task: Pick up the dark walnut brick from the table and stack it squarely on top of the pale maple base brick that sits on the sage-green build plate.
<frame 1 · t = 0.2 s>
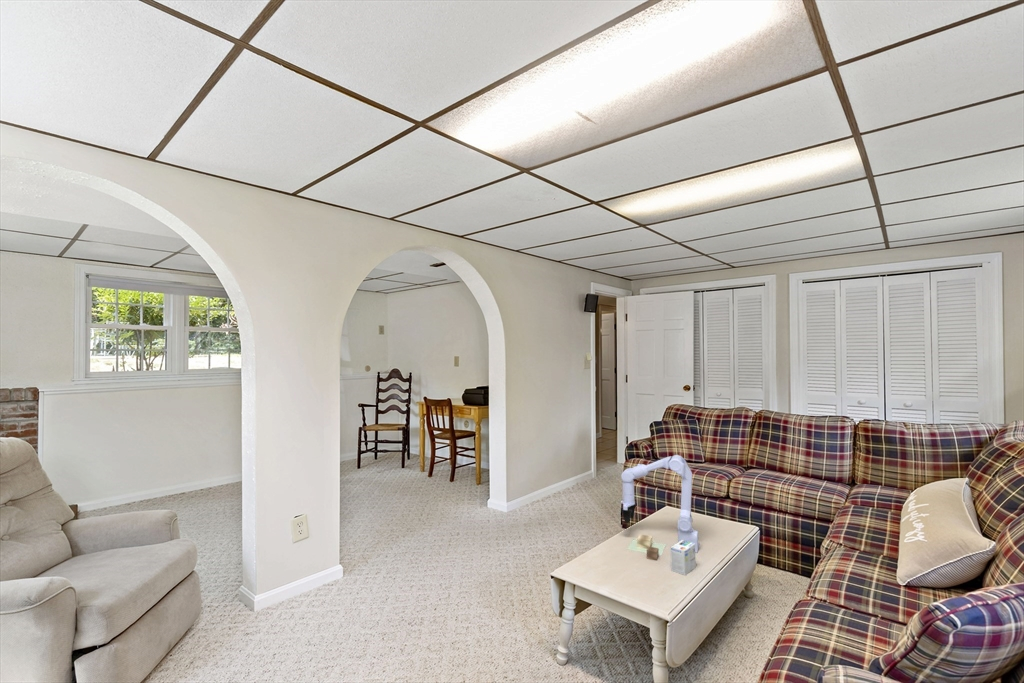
hand: (629, 520, 243), 10 cm above the table, fingers open, 7 cm apart
light bulb box: (683, 569, 209), on the table
walnut brick: (652, 560, 219), on the table
build plate: (646, 549, 231), on the table
maple base brick: (645, 545, 233), point 1 cm above the table, touching build plate
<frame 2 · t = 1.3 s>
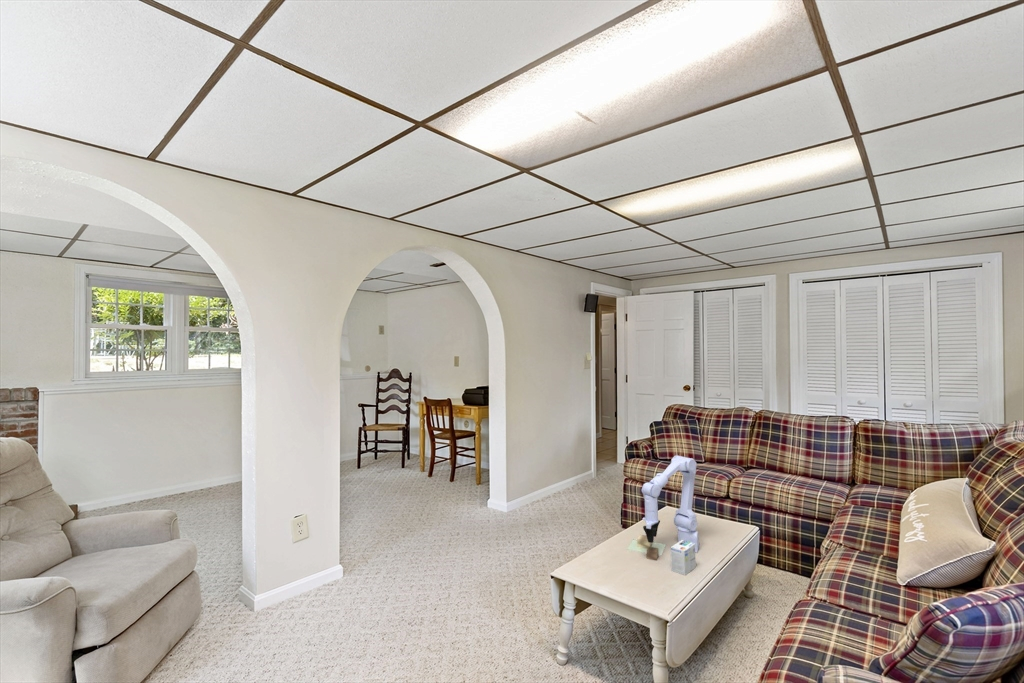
hand: (652, 539, 219), 9 cm above the table, fingers open, 7 cm apart
nothing on the table moved.
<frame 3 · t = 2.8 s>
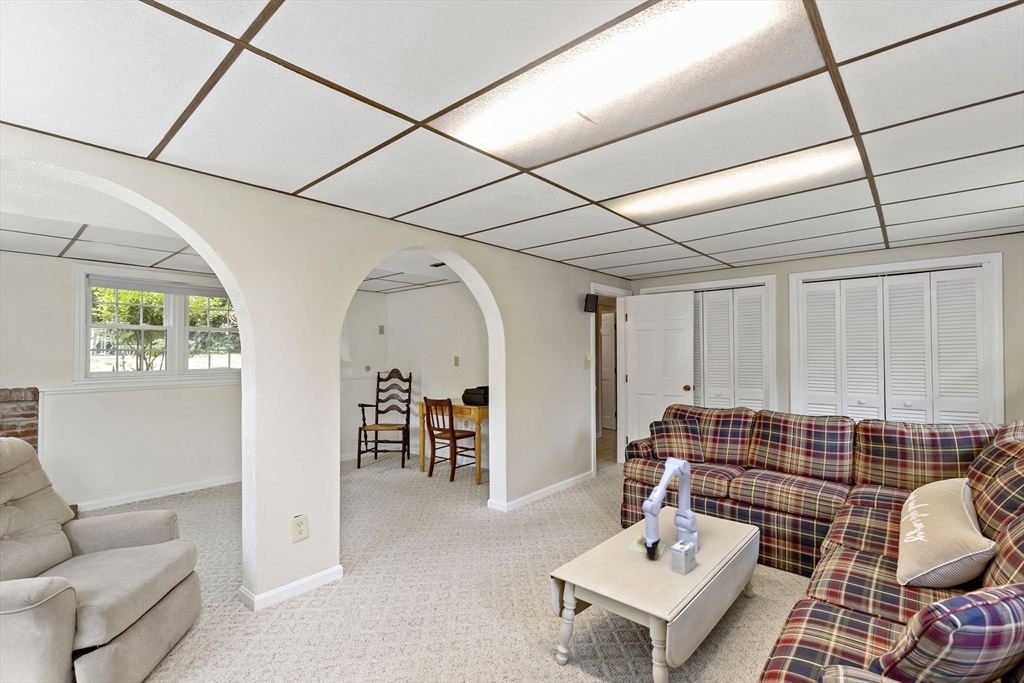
hand: (652, 556, 219), 1 cm above the table, fingers closed on walnut brick, 4 cm apart
walnut brick: (652, 559, 219), on the table, touching gripper
everything else where it was.
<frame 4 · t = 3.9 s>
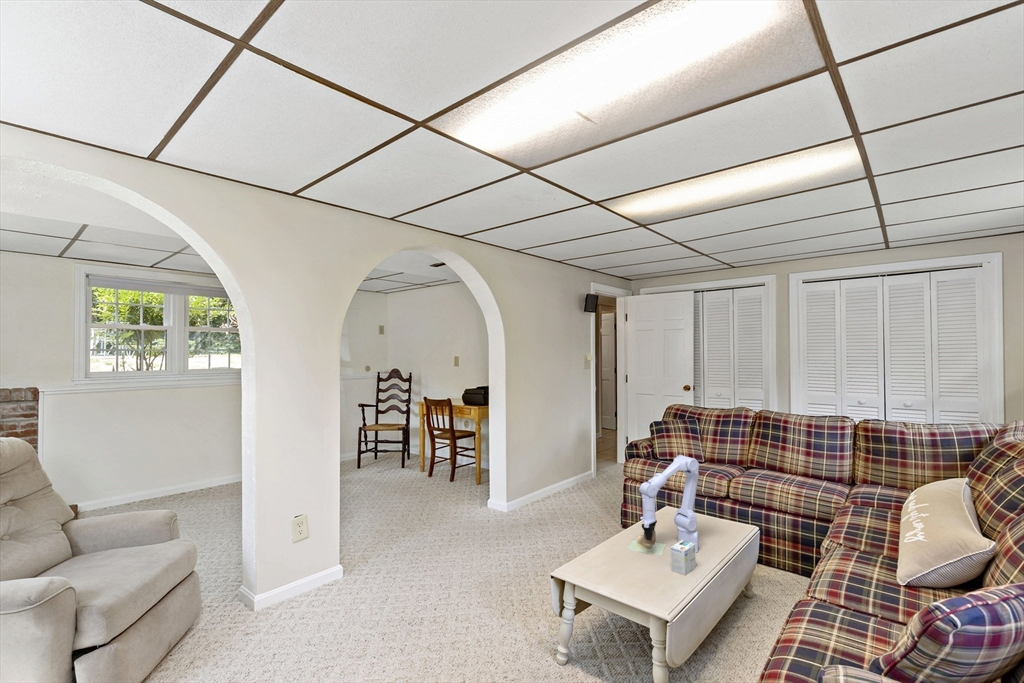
hand: (649, 538, 224), 8 cm above the table, fingers closed on walnut brick, 4 cm apart
walnut brick: (649, 542, 224), point 6 cm above the table, touching gripper
everything else where it was.
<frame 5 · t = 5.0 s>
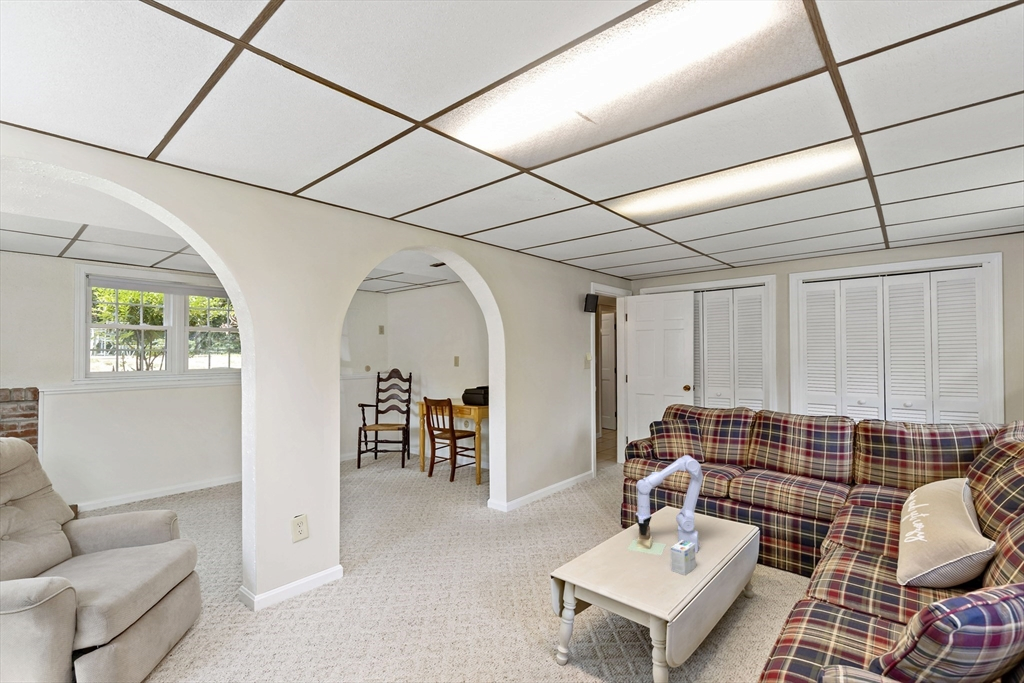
hand: (644, 533, 233), 7 cm above the table, fingers closed on walnut brick, 4 cm apart
walnut brick: (644, 537, 233), point 5 cm above the table, touching gripper, maple base brick
maple base brick: (645, 545, 233), point 1 cm above the table, touching build plate, walnut brick
everything else where it was.
when the fingers open (7 cm above the table, at t = 5.2 s): walnut brick stays where it is, resting on maple base brick.
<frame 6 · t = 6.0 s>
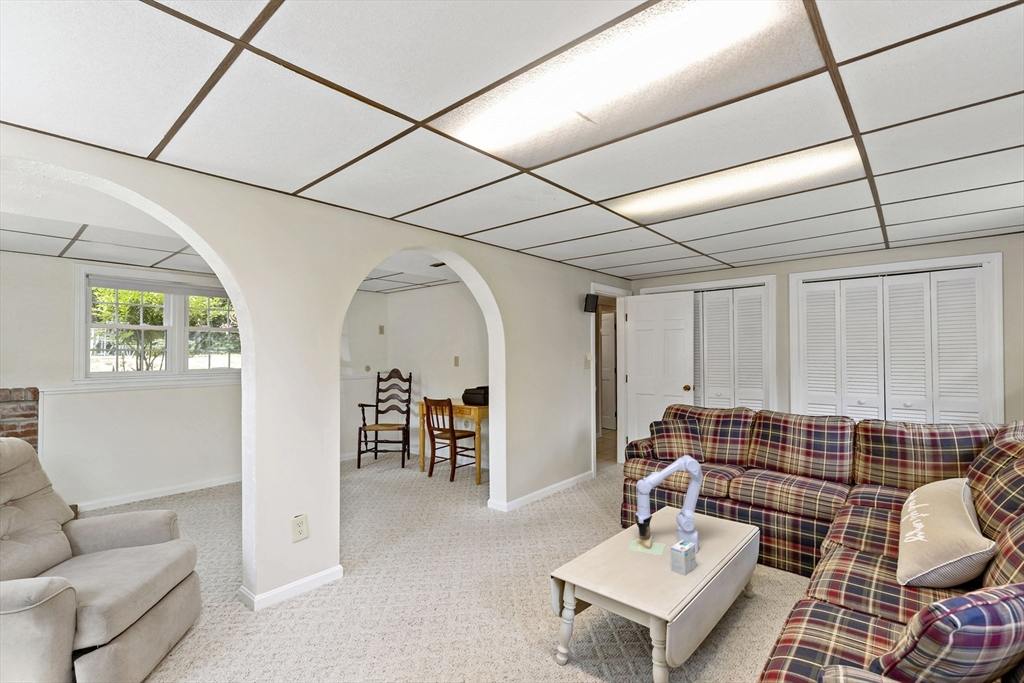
hand: (644, 533, 233), 7 cm above the table, fingers open, 7 cm apart
walnut brick: (644, 537, 233), point 5 cm above the table, touching maple base brick
everything else where it was.
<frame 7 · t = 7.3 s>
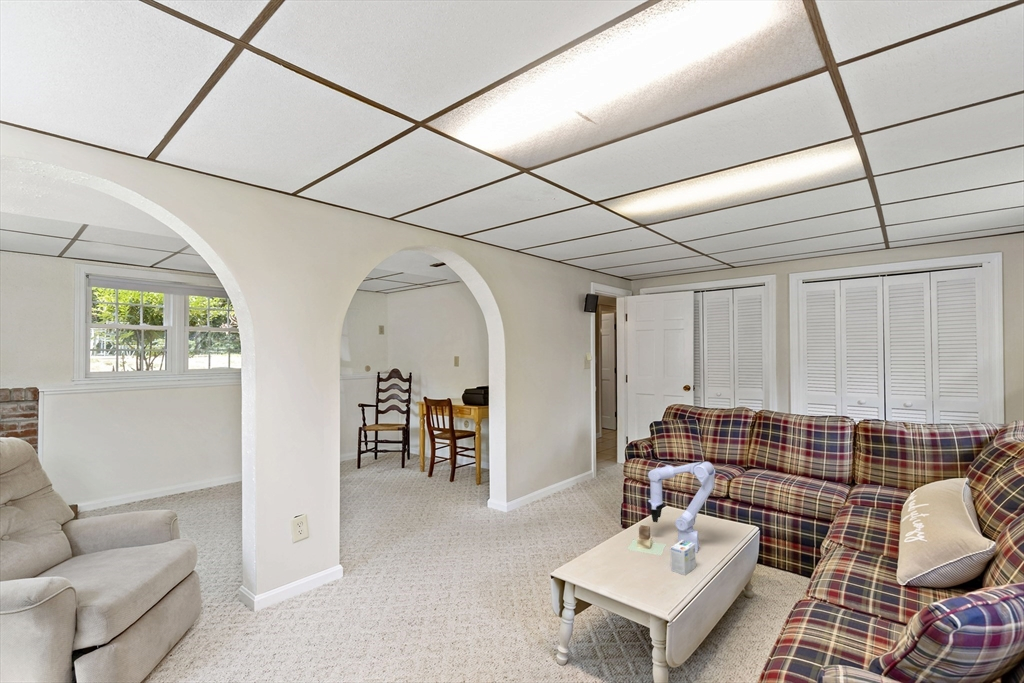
hand: (656, 519, 242), 10 cm above the table, fingers open, 7 cm apart
nothing on the table moved.
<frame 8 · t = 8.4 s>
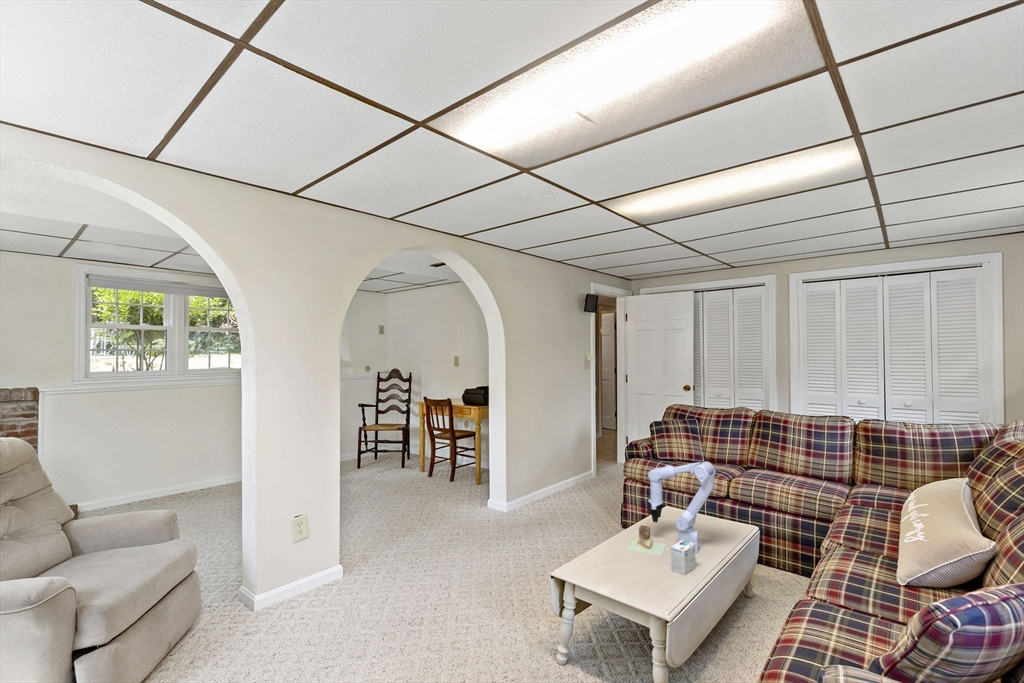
hand: (656, 519, 242), 10 cm above the table, fingers open, 7 cm apart
nothing on the table moved.
at the end: walnut brick 0.0 cm off-centre on the maple base brick, point 4.0 cm above the maple base brick's base; walnut brick tilted 0°; the gripper is holding nothing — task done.
